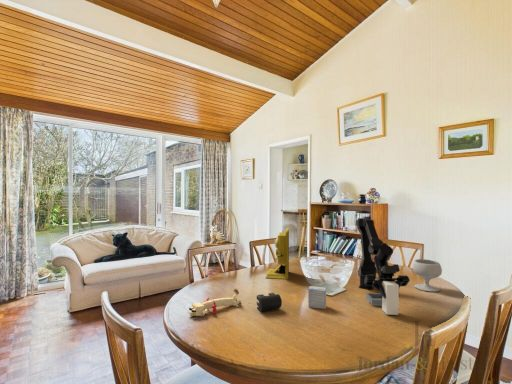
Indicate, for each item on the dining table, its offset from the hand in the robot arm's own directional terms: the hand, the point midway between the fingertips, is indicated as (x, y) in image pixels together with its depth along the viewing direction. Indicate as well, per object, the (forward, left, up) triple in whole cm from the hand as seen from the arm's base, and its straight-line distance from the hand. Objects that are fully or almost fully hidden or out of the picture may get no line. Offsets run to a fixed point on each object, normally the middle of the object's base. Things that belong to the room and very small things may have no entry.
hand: (391, 298), depth 123 cm
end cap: (-44, -32, -8) cm, 55 cm away
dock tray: (-9, +10, -7) cm, 15 cm away
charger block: (-1, +1, -7) cm, 7 cm away
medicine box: (-29, -14, -7) cm, 33 cm away
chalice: (+5, +49, -7) cm, 50 cm away
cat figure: (-62, -48, -8) cm, 79 cm away
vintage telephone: (-73, +14, -7) cm, 75 cm away
